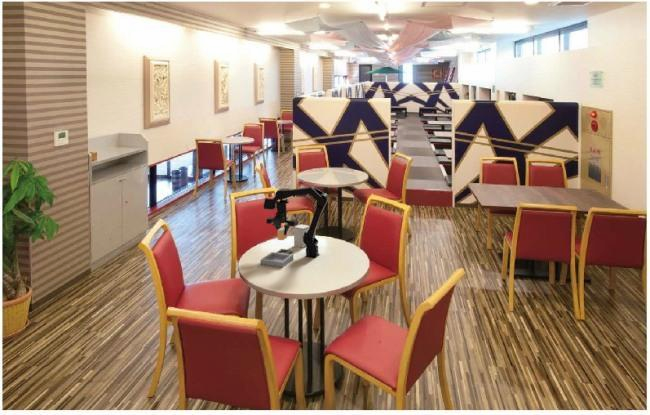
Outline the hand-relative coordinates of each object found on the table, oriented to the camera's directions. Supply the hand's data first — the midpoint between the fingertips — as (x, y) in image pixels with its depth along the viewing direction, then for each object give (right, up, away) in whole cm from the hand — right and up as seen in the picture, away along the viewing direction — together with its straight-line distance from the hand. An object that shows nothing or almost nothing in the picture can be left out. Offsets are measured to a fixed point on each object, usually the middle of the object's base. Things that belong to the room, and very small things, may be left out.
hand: (282, 235), depth 311 cm
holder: (0, -11, +3) cm, 12 cm away
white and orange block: (0, -2, 0) cm, 2 cm away
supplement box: (+11, -8, +19) cm, 23 cm away
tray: (-2, -15, -10) cm, 18 cm away
